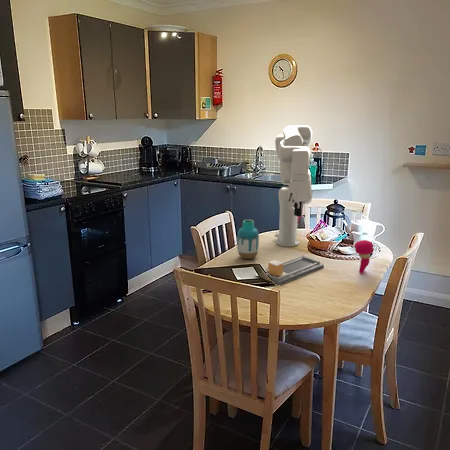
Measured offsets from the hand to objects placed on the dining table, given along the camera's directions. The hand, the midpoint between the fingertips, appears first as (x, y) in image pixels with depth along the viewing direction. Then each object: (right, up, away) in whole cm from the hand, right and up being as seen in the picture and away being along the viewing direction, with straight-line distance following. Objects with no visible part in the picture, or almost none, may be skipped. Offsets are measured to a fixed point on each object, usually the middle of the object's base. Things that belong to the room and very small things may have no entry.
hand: (297, 215), depth 199 cm
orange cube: (-11, -26, -9) cm, 30 cm away
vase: (-22, -21, +15) cm, 34 cm away
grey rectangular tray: (-4, -26, -2) cm, 26 cm away
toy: (+29, -26, -3) cm, 39 cm away
